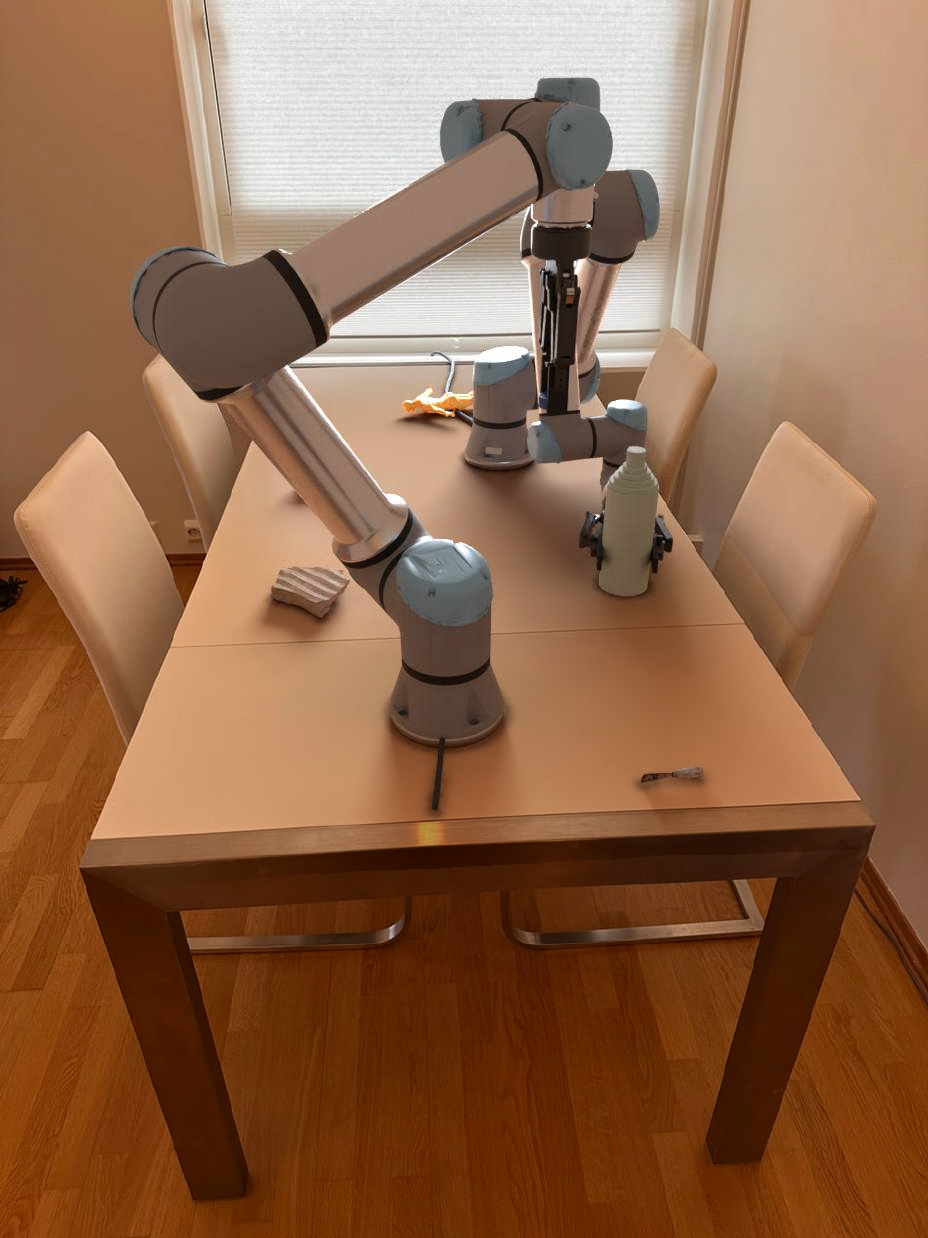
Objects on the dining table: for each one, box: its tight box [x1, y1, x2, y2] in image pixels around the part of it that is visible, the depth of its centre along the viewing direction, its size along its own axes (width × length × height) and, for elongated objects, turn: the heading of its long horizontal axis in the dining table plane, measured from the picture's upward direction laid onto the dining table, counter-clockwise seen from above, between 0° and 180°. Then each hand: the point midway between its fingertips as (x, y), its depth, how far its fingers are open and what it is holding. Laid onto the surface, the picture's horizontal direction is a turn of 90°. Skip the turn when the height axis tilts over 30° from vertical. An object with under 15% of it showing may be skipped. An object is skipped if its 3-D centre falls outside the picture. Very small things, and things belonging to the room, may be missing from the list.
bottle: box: [598, 446, 660, 597], centre depth 144 cm, size 8×8×24 cm
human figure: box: [402, 385, 473, 418], centre depth 225 cm, size 20×20×4 cm
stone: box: [270, 565, 351, 619], centre depth 147 cm, size 13×12×2 cm
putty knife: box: [640, 765, 705, 784], centre depth 109 cm, size 1×8×2 cm, turn 103°
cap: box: [538, 391, 569, 410], centre depth 122 cm, size 4×4×2 cm
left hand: (553, 406), depth 123 cm, fingers closed on cap, 4 cm apart
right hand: (627, 564), depth 143 cm, fingers closed on bottle, 8 cm apart
